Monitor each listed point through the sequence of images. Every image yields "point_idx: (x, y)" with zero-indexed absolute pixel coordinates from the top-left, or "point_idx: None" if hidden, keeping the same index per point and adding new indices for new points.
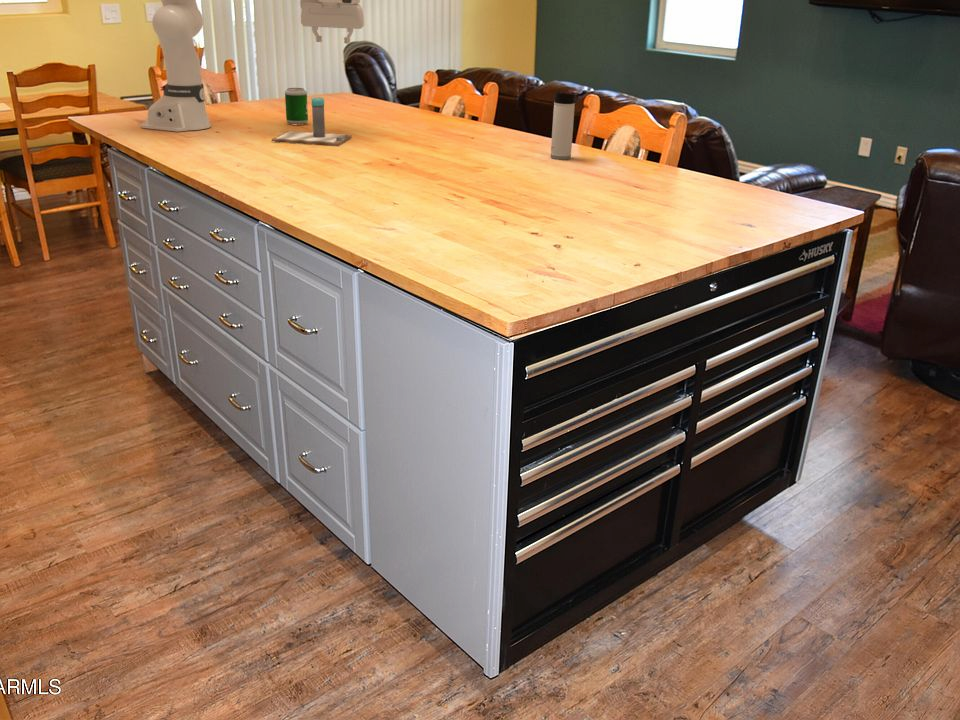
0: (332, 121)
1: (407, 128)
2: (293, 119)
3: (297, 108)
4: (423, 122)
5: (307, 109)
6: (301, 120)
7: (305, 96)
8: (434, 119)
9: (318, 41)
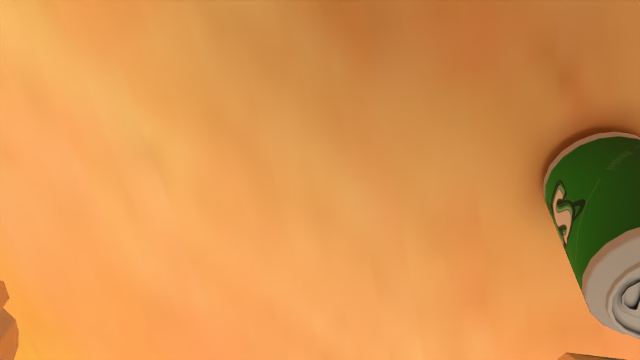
0: (424, 255)
1: (43, 156)
2: (629, 140)
3: (623, 174)
4: (38, 288)
5: (557, 224)
6: (580, 146)
7: (588, 250)
8: (25, 345)
9: (614, 358)
